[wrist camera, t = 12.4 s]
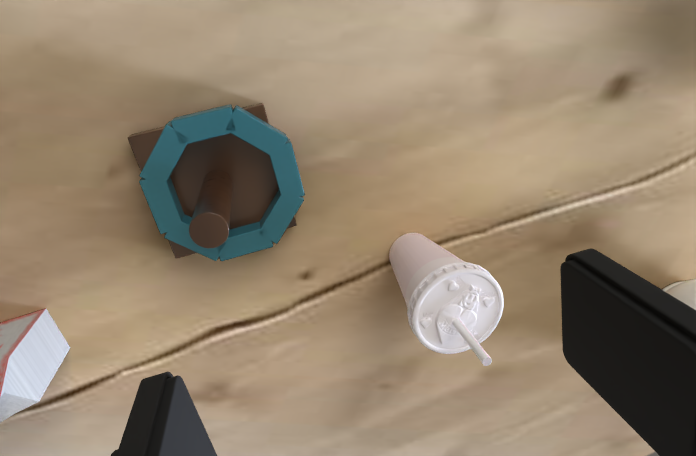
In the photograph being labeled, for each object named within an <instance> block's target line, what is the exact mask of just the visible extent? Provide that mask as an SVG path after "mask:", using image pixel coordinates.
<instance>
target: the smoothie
mask: <svg viewBox="0 0 696 456" xmlns="http://www.w3.org/2000/svg"><path fill="white" fill-rule="evenodd" d="M389 259H390V263H391V265H392V268H393V271H394V273H395V276H396V278H397V281H398V284H399V286H400V289H401V292H402V294H403V297H404V299H405V302H406V305H407V308H408V312H407V313H408V321H409V325H410V327H411V329H412V331H413V333H414V334H415V335H416V336H417V338H418V339H419V341H420V342H421V343H422V344H423V345H424V346H425V347H427V348H428V349H430V350H432V351H435V352H438V353H444V354H453V353H460V352H463V351H466V350H469V349H472V350H473V352H474V353H475V354H476V356H477V357H478V358H479V360H480V361H481V362H482V364H483V365H485V366H487V365H489V364H490V363H491V362H492V359H491V358H490V357H489V355H488V354H487V353H486V352H485V350H484V349H483V348H482V347H481V345H480V343H481V342H483V341H484V340H485V339H486V338H487V337H488V336H489V335H490V334H491V333H492V332H493V330H494V329H495V328H496V326H497V324H498V322H499V320H500V318H501V315H502V312H503V306H504V298H503V293H502V290H501V288H500V286H499V284H498V283H497V281H496V280H495V279H494V278H493V277H492V276H491V274H490V273H489V272H488V271H487V270H485V269H484V268H482V267H481V266H479V265H476V264H472V263H469V262H465V261H463V260H461V259H460V258H458V257H457V256H455V255H453V254H452V253H450V252H449V251H447V250H446V249H444V248H442V247H441V246H439V245H438V244H436V243H435V242H433V241H431V240H430V239H428V238H427V237H425V236H424V235H422V234H419V233H407V234H404V235H402V236H400V237H399V238H398V239H397V240H396V241H395V242H394V243H393V244H392V246H391V248H390V252H389Z"/></svg>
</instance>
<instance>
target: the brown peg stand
mask: <svg viewBox="0 0 696 456" xmlns="http://www.w3.org/2000/svg"><path fill="white" fill-rule="evenodd" d="M242 109H244V110H246V111H247V112H249V113H251V114H253V115H254V116H256V117H258V118H259V119H261V120H263V121H264V122H266V123H268V119H267V116H266V112H265V108H264V105H263V103H260V104H256V105H251V106H247V107H243V108H242ZM268 124H269V123H268ZM164 127H165V126H164ZM164 127H160V128H156V129H152V130H148V131H144V132H140V133H135V134H132V135H130V136H129V137H128V140H129V143H130V145H131V148H132V150H133V153H134V155H135V158H136V160H137V163H138V165H139V168H140V170H141V171H142V170H143V168H144V166H145V164H146V162H147V160H148V158H149V156H150V154H151V152H152V150H153V148H154V147H155V145H156V143H157V141H158V139H159V137H160V135H161V133H162V131H163V129H164ZM170 177H171V180H172V183H173V185H174V188H175V191H176V193H177V196H178V198H179V201H180V204H181V206H182V209H183V212H184V214H185V215H188V216H190V217H192V219H191V223H190V226H189V234H190V237H191V239H192V240H193V241H194V242H195V243H196V244H197V245H199V246H201V247H203V248H216V247H218V246H220V245H222V244H223V243H224V242H225V241H226V240H227V238H228V235H229V230H230V229H234V228H238V227H241V226H245V225H249V224H252V223H256V222H260V220H261V218H262V217H263V215H264V213H265V212H266V210H267V208H268V207H269V205H270V203H271V202H272V200H273V198H274V197H275V195H276V193H277V192H278V190H279V187H278V183H277V180H276V176H275V173H274V169H273V166H272V162H271V159H270V155H268V154H267V153H265V152H263V151H261V150H259V149H258V148H256V147H254V146H252V145H251V144H249V143H247V142H245V141H244V140H242V139H240V138H238V137H236V136H235V135H233V134H231V133H229V134H225V135H221V136H217V137H213V138H209V139H205V140H201V141H197V142H193V143H189V144H187V145H186V147H185V149H184V151H183V153H182V155H181V157H180V158H179V160H178V162H177V164H176V166H175V168H174V170H173V171H172V173H171V175H170ZM293 226H296V221H295V218H294V217H293V219H292V220H291V222H290V224H289V225H288V227H287V228H289V227H293ZM169 243H170V245H171V248H172V250H173V253H174V255H175V258H180V257H184V256H187V255H191V254H195V253H197V252H195V251H192V250H190V249H188V248H186V247H184V246H181V245H179V244H177V243H175V242H173V241H170V240H169Z"/></svg>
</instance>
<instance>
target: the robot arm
mask: <svg viewBox="0 0 696 456" xmlns="http://www.w3.org/2000/svg"><path fill="white" fill-rule="evenodd" d="M561 301H562V338H563V353H564V356H565V358H566V360H567V362H568V363H569V364H570V365H571V366H572V367H573V368H574V369H575V370H576V371H577V373H578V374H579V375H580V376H581V377H582V378H583V379H584V380H585V381H586V382H587V383H588V384H589V385H590V386H591V387H592V388H593V389H594V390H595V391H596V392H597V393H598V394H599V395H600V396H601V397H602V398H603V399H604V400H605V401H606V402H607V403H608V404H609V405H610V406H611V407H612V408H613V409H614V410H615V411H616V412H617V413H618V414H619V415H620V416H621V417H622V418H623V419H624V420H625V421H626V422H627V423H628V424H629V425H630V426H631V427H632V428H633V429H634V430H635V431H636V432H637V433H638V434H639V435H640V436H641V437H642V438H643V439H644V440H645V441H646V442H647V443H648V444H649V445H650V446H651V447H652V448H653V449H654V450H655V451H656V452H657V453H658V454H659V455H660V456H696V310H695V309H693V308H691V307H690V306H688V305H686V304H685V303H683V302H681V301H680V300H678V299H676V298H675V297H673V296H671V295H670V294H668V293H666V292H665V291H663V290H661V289H660V288H658V287H656V286H655V285H653V284H652V283H650V282H648V281H647V280H645V279H643V278H642V277H640V276H638V275H637V274H635V273H633V272H632V271H630V270H628V269H627V268H625V267H623V266H622V265H620V264H618V263H617V262H615V261H613V260H612V259H610V258H608V257H607V256H605V255H603V254H602V253H600V252H598V251H597V250H594V249H587V250H583V251H580V252H576V253H573V254H570V255H568V256H567V257H566V260H565V262H564V263H562V265H561ZM111 456H217V454H216V452H215V450H214V448H213V445H212V443H211V441H210V439H209V437H208V434H207V432H206V430H205V428H204V426H203V423H202V421H201V419H200V417H199V415H198V412H197V410H196V408H195V406H194V404H193V401H192V399H191V397H190V395H189V392H188V390H187V388H186V386H185V384H184V381H183V379H182V378H181V377H180V376H175V377H173V375H172V374H171V373H170V372H165V373H162V374H158V375H155V376H152V377H148V378H145V379H143V380H142V381H141V383H140V386H139V389H138V392H137V395H136V398H135V401H134V404H133V407H132V410H131V413H130V416H129V419H128V422H127V425H126V428H125V431H124V434H123V437H122V440H121V443H120V446H119V449H118V450H115V451H114V452H113V453H112V454H111Z"/></svg>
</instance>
